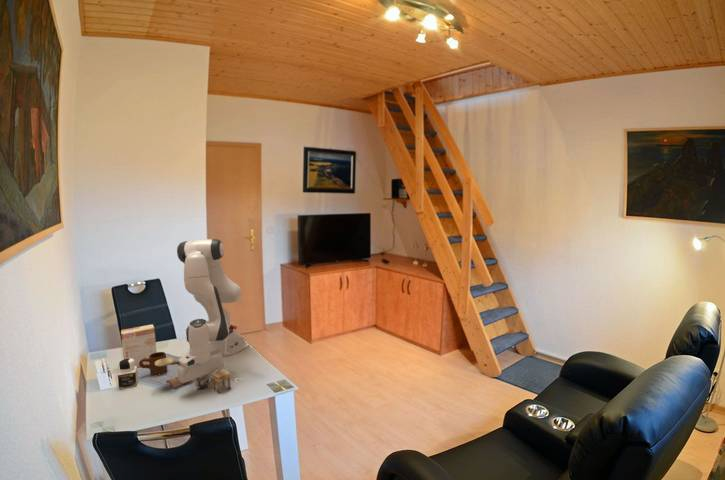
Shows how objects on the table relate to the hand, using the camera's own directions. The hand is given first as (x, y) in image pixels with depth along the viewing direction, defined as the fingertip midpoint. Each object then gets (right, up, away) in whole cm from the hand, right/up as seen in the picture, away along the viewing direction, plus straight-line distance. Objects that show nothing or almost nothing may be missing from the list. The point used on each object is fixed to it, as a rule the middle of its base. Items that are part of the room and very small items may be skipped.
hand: (202, 384), depth 183 cm
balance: (-12, -1, +7) cm, 13 cm away
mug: (-30, 0, +15) cm, 33 cm away
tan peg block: (+9, -2, -1) cm, 10 cm away
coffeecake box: (-43, +1, +26) cm, 50 cm away
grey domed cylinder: (0, -2, 0) cm, 2 cm away
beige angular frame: (+13, -1, +12) cm, 18 cm away
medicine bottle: (-36, -2, +5) cm, 37 cm away
